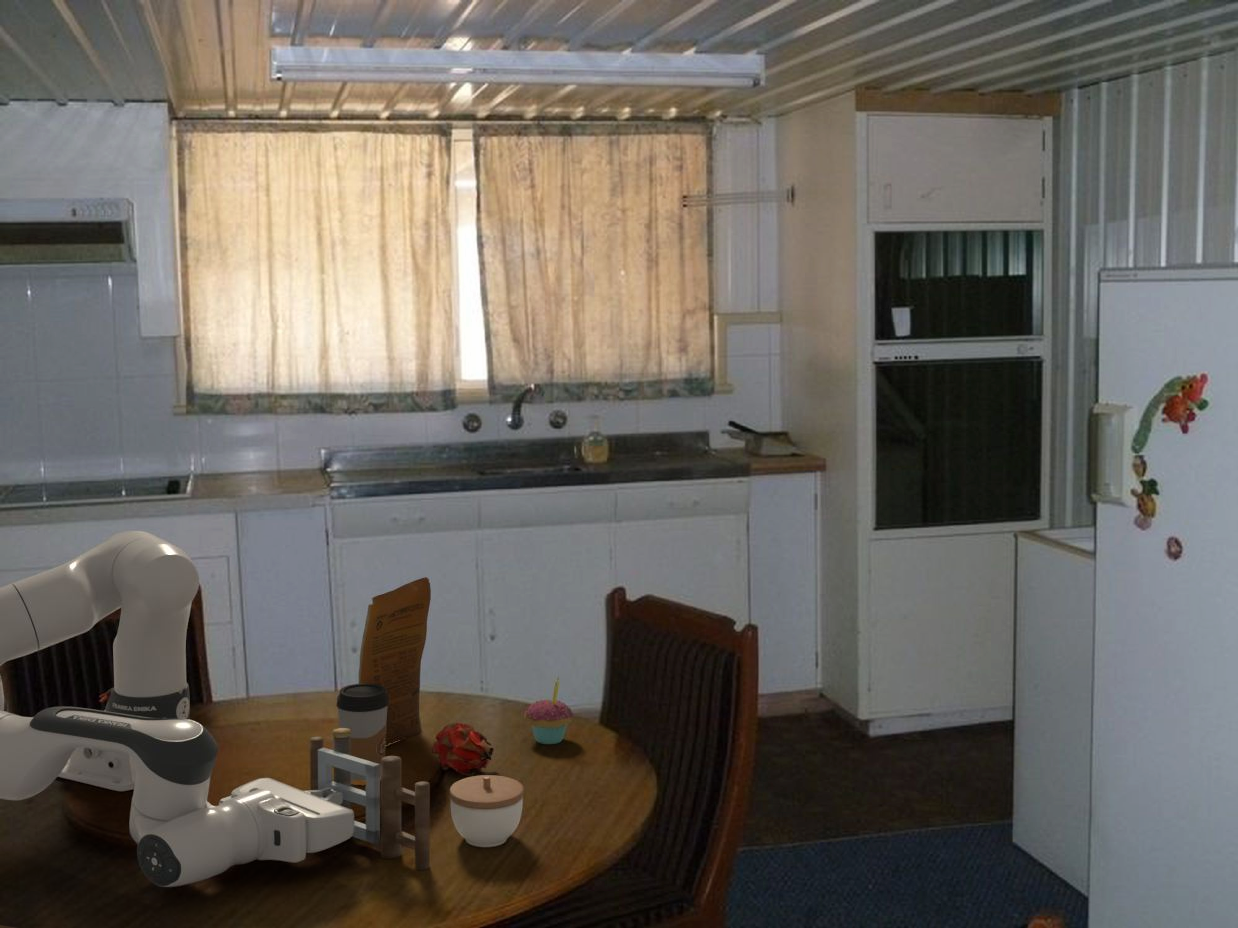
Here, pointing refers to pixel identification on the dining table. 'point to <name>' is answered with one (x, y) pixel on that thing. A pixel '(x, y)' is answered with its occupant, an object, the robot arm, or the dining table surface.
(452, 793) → the lidded jar
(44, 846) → the dining table surface
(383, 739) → the coffee cup
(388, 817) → the fence
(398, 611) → the pancake mix bag
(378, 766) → the gate
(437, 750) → the dragon fruit
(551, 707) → the cupcake
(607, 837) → the dining table surface
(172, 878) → the robot arm
